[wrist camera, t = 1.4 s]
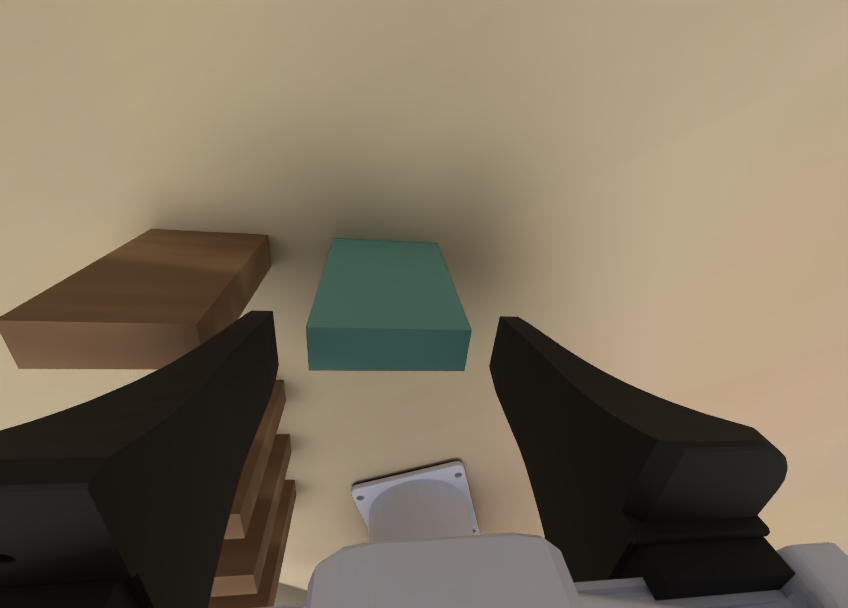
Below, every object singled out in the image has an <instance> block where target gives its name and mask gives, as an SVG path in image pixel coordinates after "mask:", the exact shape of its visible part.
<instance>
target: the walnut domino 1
mask: <svg viewBox="0 0 848 608" xmlns="http://www.w3.org/2000/svg"><path fill="white" fill-rule="evenodd" d="M270 267H271V263H270V253H269V244H268V235H259V234H239V233H219V232H199V231H179V230H159V229H150V230H149V231H147V232H145V233H143V234H142V235H140V236H138V237H137V238H135V239H133V240H131V241H130V242H128V243H126V244H124V245H123V246H121V247H119V248H118V249H116V250H114V251H112V252H111V253H109V254H107V255H106V256H104V257H102V258H100V259H99V260H97V261H95V262H94V263H92V264H90V265H88V266H87V267H85V268H83V269H82V270H80V271H78V272H76V273H75V274H73V275H71V276H69V277H68V278H66V279H64V280H63V281H61V282H59V283H57V284H56V285H54V286H52V287H51V288H49V289H47V290H45V291H44V292H42V293H40V294H39V295H37V296H35V297H33V298H32V299H30V300H28V301H27V302H25V303H23V304H21V305H20V306H18V307H16V308H15V309H13V310H11V311H9V312H8V313H6V314H4V315H2V316H1V317H0V333H1V335H2V337H3V339H4V341H5V343H6V345H7V347H8V349H9V351H10V353H11V355H12V357H13V359H14V360H15V362H16V364H17V366H18V368H19V369H161V368H162V367H164V366H166V365H168V364H170V363H172V362H173V361H175V360H177V359H178V358H180V357H182V356H183V355H185V354H187V353H188V352H190V351H191V350H193V349H195V348H196V347H198V346H200V345H201V344H203V343H204V342H206V341H207V340H209V339H210V338H212V337H213V336H215V335H216V334H218V333H219V332H221V331H222V330H224V329H225V328H227V327H228V326H229V325H231V324H232V323H234V322H235V321H237V320H238V318H239V317H240V315H241V313H242V312H243V310H244V309H245V307H246V305H247V304H248V302H249V301H250V299H251V298H252V296H253V294H254V293H255V291H256V290H257V288H258V286H259V285H260V283H261V282H262V280H263V278H264V277H265V275H266V274H267V272H268V271H269V269H270Z"/></svg>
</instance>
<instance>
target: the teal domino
mask: <svg viewBox="0 0 848 608" xmlns="http://www.w3.org/2000/svg"><path fill="white" fill-rule="evenodd" d="M306 333H307V348H308V363H309V370H347V371H464V370H465V365H466V359H467V353H468V347H469V342H470V336H471V327H470V325H469V323H468V320H467V318H466V315H465V313H464V310H463V308H462V305H461V303H460V300H459V298H458V295H457V293H456V290H455V288H454V285H453V283H452V280H451V278H450V275H449V273H448V270H447V268H446V266H445V263H444V261H443V258H442V256H441V253H440V251H439V248H438V246H437V243H419V242H399V241H378V240H358V239H338V238H333V241H332V244H331V247H330V251H329V254H328V257H327V260H326V264H325V267H324V270H323V274H322V277H321V280H320V283H319V287H318V290H317V293H316V296H315V300H314V303H313V306H312V309H311V313H310V316H309V319H308V322H307V326H306Z"/></svg>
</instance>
